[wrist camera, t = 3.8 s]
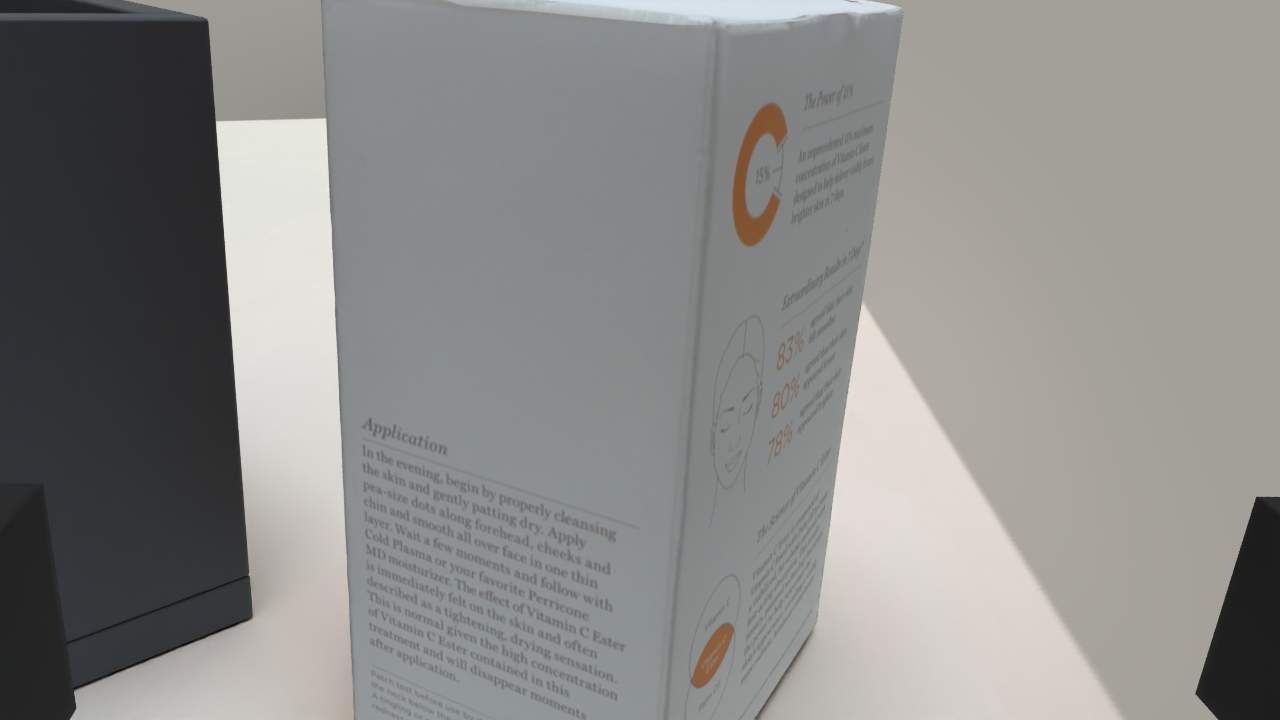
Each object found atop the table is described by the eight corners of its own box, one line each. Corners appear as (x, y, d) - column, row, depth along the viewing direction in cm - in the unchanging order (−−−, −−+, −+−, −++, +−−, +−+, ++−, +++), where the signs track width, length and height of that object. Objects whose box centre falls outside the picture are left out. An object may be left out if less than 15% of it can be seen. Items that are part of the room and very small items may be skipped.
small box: (572, 542, 26) (601, -27, 21) (821, 628, 24) (917, 1, 19) (339, 737, 19) (306, -31, 15) (652, 888, 17) (734, 12, 12)
